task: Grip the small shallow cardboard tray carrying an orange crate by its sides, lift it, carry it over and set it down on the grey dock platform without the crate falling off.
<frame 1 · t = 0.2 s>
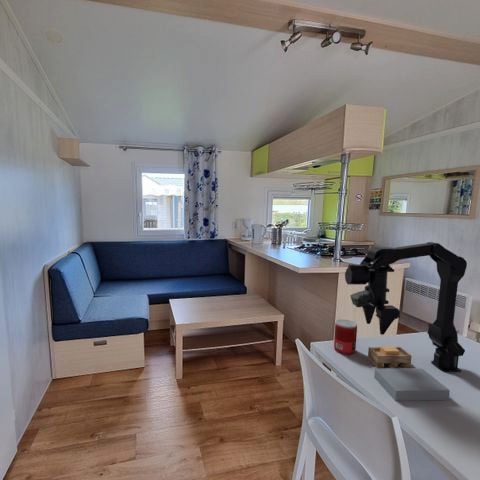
hand: (374, 328, 103), 14 cm above the table, tool pointing down, fingers open, 9 cm apart
canned food: (344, 350, 116), on the table
shallow cardboard tray: (388, 363, 107), on the table
crate: (389, 354, 107), point 3 cm above the table
dock: (409, 387, 92), on the table
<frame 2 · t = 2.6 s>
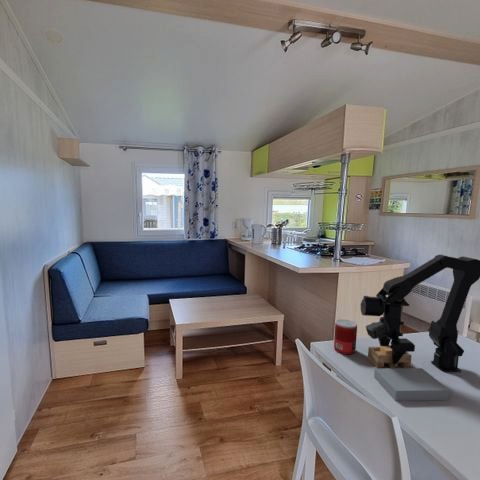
hand: (388, 359, 107), 2 cm above the table, tool pointing down, fingers closed on shallow cardboard tray, 7 cm apart
shallow cardboard tray: (388, 363, 107), on the table, touching crate, gripper
crate: (389, 353, 107), point 3 cm above the table, touching shallow cardboard tray
everything else where it was.
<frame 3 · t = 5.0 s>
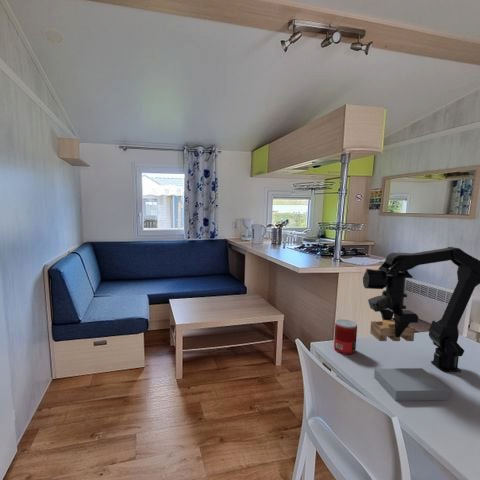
hand: (391, 332, 105), 11 cm above the table, tool pointing down, fingers closed on shallow cardboard tray, 7 cm apart
shallow cardboard tray: (391, 337, 105), point 10 cm above the table, touching crate, gripper
crate: (392, 327, 105), point 13 cm above the table, touching shallow cardboard tray
everything else where it was.
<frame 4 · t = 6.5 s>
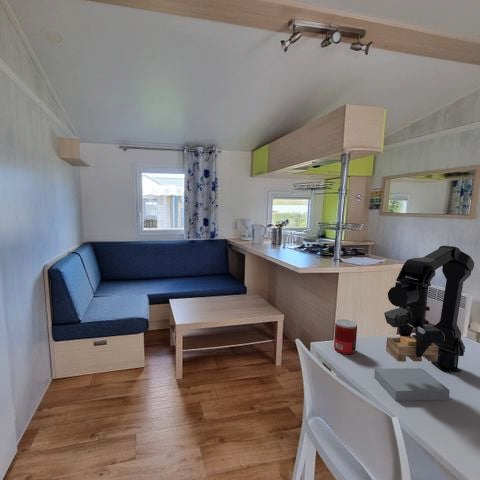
hand: (411, 351, 91), 12 cm above the table, tool pointing down, fingers closed on shallow cardboard tray, 7 cm apart
shallow cardboard tray: (410, 356, 91), point 10 cm above the table, touching crate, gripper
crate: (411, 345, 91), point 14 cm above the table, touching shallow cardboard tray
everything else where it was.
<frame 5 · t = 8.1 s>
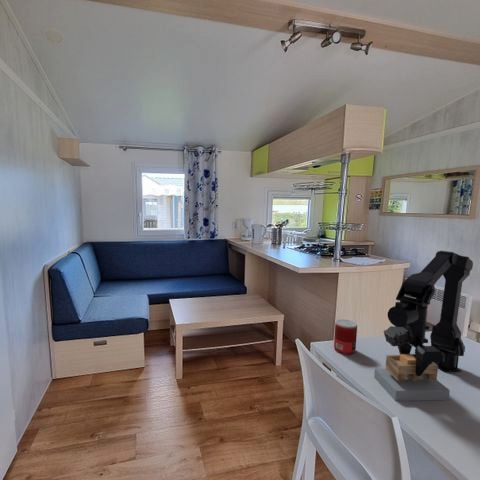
hand: (410, 369, 91), 6 cm above the table, tool pointing down, fingers closed on shallow cardboard tray, 7 cm apart
shallow cardboard tray: (410, 374, 92), point 4 cm above the table, touching crate, gripper
crate: (411, 363, 91), point 8 cm above the table, touching shallow cardboard tray
everything else where it was.
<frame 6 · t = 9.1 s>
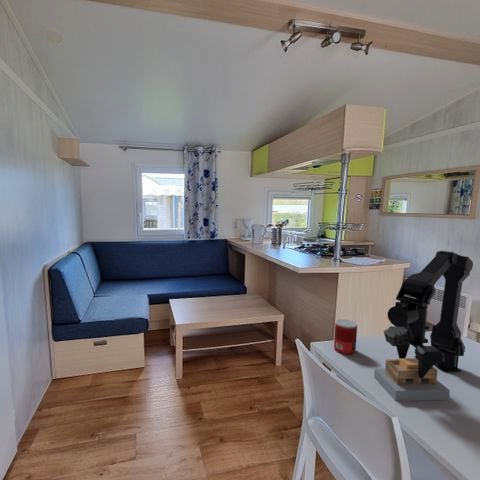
hand: (410, 369, 91), 6 cm above the table, tool pointing down, fingers open, 9 cm apart
shallow cardboard tray: (409, 378, 92), point 3 cm above the table, touching crate, dock
crate: (410, 367, 91), point 6 cm above the table, touching shallow cardboard tray
everything else where it was.
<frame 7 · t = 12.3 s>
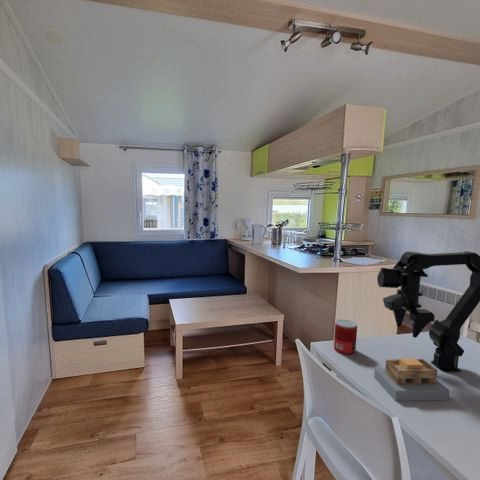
hand: (406, 331, 105), 12 cm above the table, tool pointing down, fingers open, 9 cm apart
nothing on the table moved.
at the end: shallow cardboard tray inside the target area on the dock (0.1 cm from its centre), point 3.0 cm above the dock's base; crate 0.0 cm off-centre on the shallow cardboard tray, point 3.5 cm above the shallow cardboard tray's base; the gripper is holding nothing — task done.
